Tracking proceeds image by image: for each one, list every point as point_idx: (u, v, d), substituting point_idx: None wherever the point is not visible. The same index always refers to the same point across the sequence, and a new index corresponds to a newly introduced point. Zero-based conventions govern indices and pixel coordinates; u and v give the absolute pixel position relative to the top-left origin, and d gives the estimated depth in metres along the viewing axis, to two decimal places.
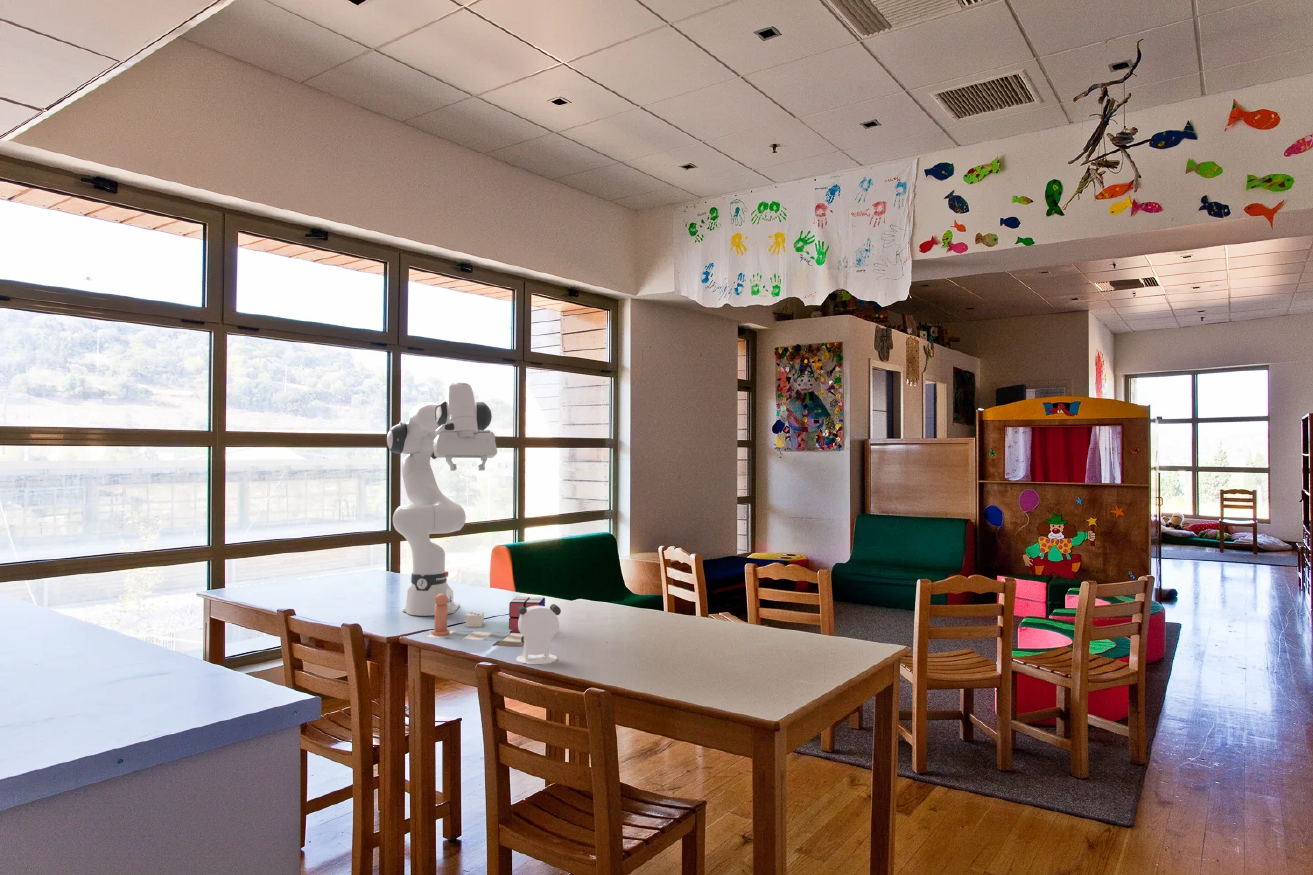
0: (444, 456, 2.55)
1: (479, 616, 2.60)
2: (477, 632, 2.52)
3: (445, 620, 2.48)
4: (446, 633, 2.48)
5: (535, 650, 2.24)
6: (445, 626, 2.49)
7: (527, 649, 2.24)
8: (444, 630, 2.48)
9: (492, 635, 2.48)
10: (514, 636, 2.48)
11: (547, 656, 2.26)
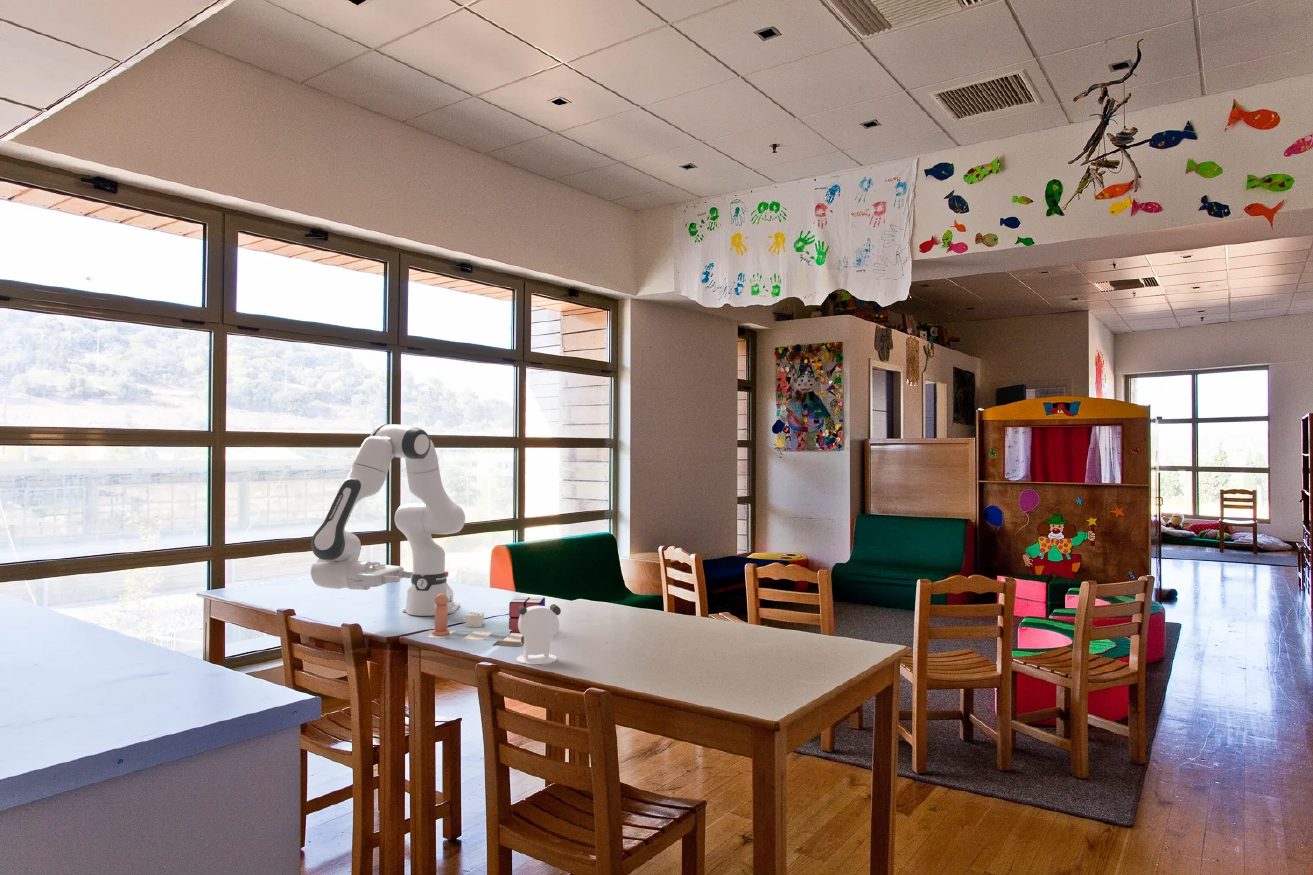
0: None
1: (479, 616, 2.60)
2: (477, 632, 2.52)
3: (445, 620, 2.48)
4: (446, 633, 2.48)
5: (535, 650, 2.24)
6: (445, 626, 2.49)
7: (527, 649, 2.24)
8: (444, 630, 2.48)
9: (492, 635, 2.48)
10: (514, 636, 2.48)
11: (547, 656, 2.26)
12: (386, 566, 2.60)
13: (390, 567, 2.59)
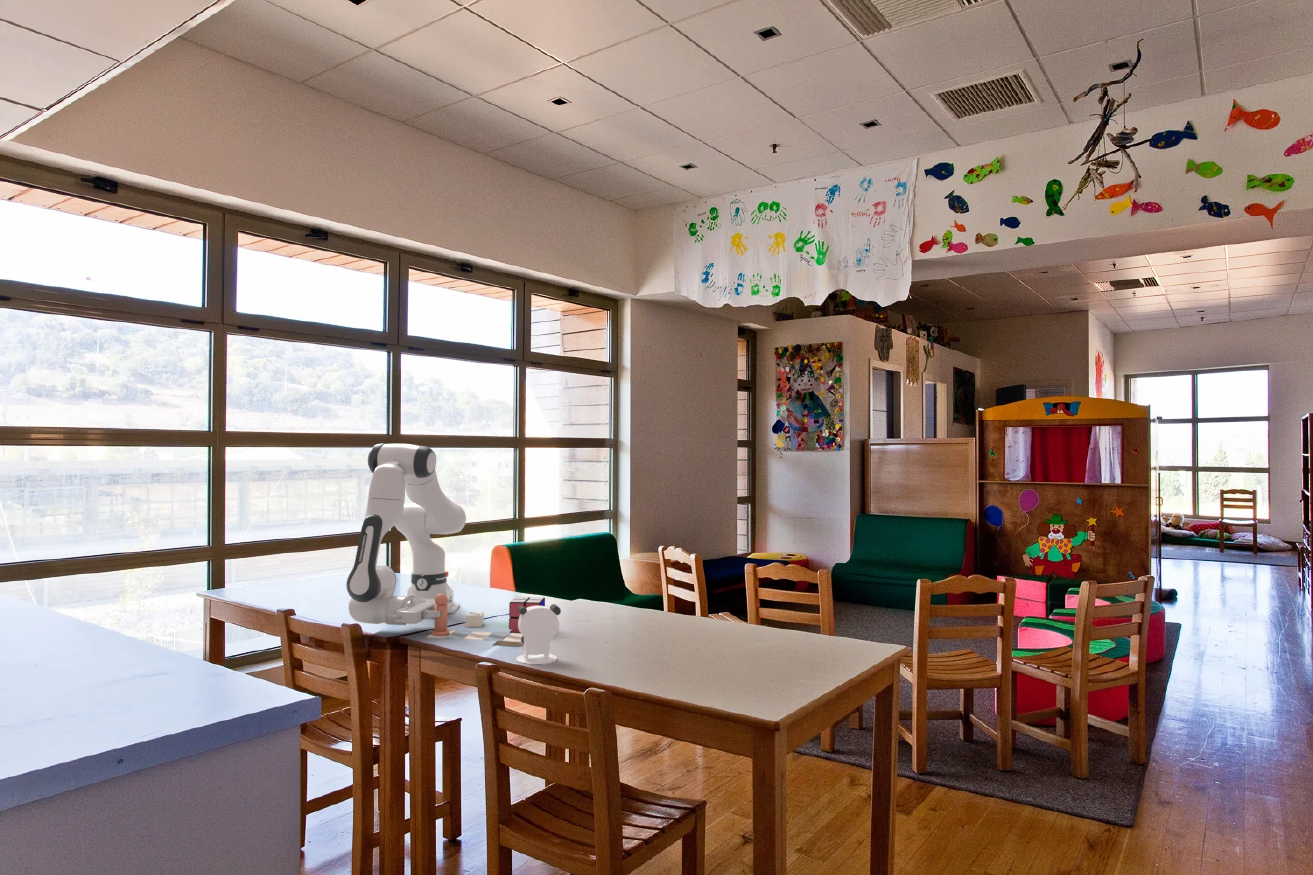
0: None
1: (479, 616, 2.60)
2: (477, 632, 2.52)
3: (445, 620, 2.48)
4: (446, 633, 2.48)
5: (535, 650, 2.24)
6: (445, 626, 2.49)
7: (527, 649, 2.24)
8: (444, 630, 2.48)
9: (492, 635, 2.48)
10: (514, 636, 2.48)
11: (547, 656, 2.26)
12: (423, 600, 2.58)
13: (427, 601, 2.58)
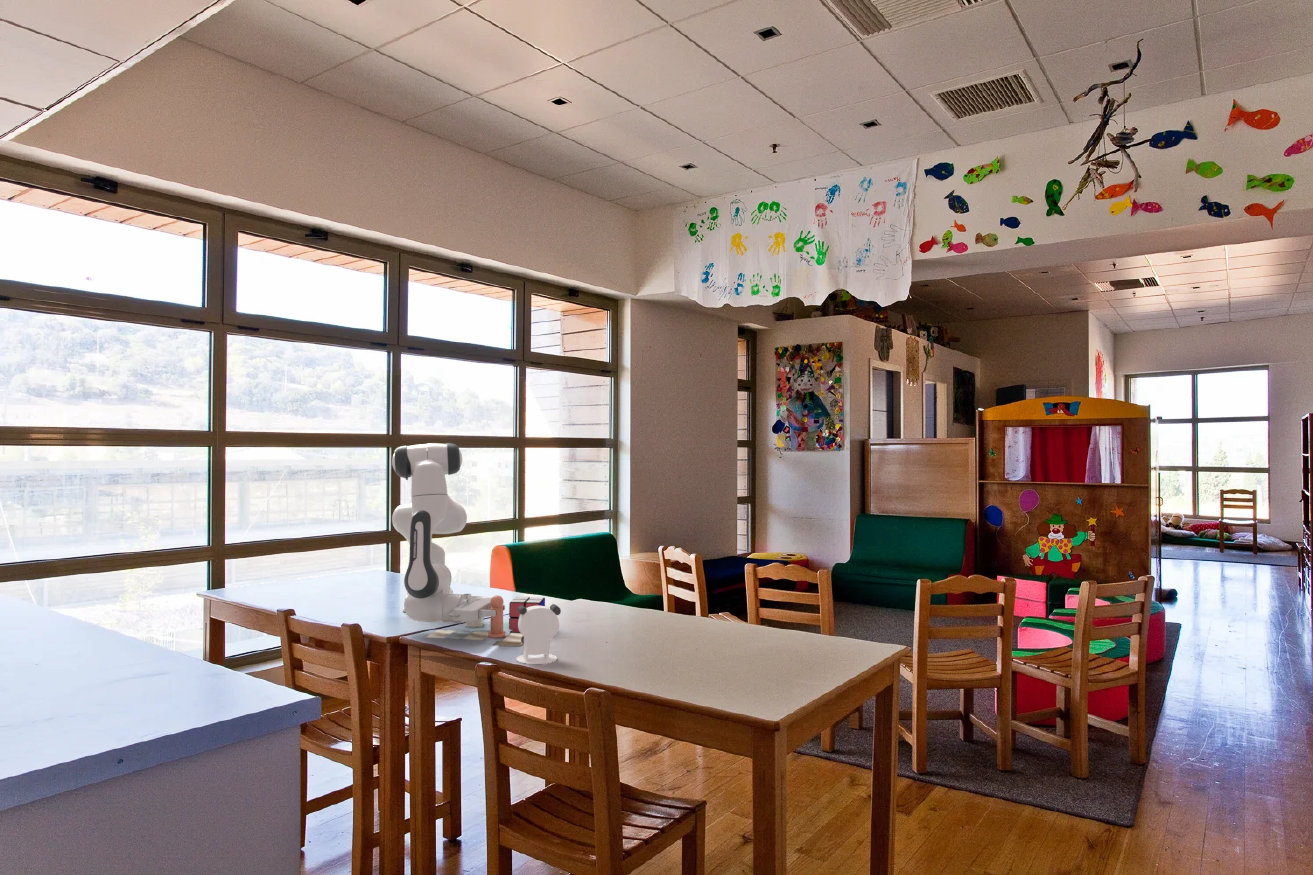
0: None
1: None
2: (477, 632, 2.52)
3: (501, 623, 2.46)
4: (502, 635, 2.46)
5: (535, 650, 2.24)
6: (501, 628, 2.47)
7: (527, 649, 2.24)
8: (500, 632, 2.46)
9: None
10: (514, 636, 2.48)
11: (547, 656, 2.26)
12: (478, 598, 2.56)
13: (482, 599, 2.56)
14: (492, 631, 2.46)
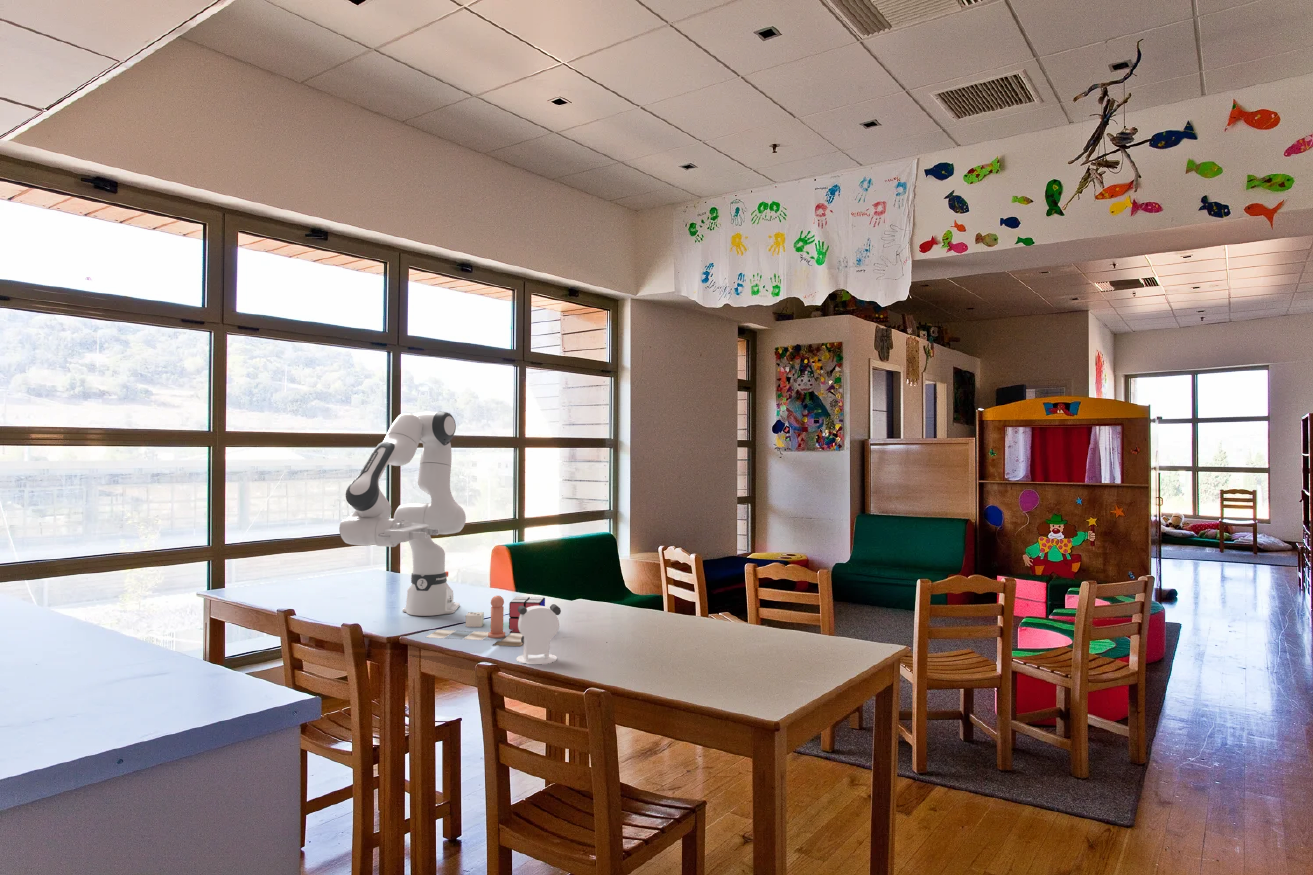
0: None
1: (479, 616, 2.60)
2: (477, 632, 2.52)
3: (501, 623, 2.46)
4: (502, 636, 2.46)
5: (535, 650, 2.24)
6: (501, 628, 2.47)
7: (527, 649, 2.24)
8: (500, 632, 2.46)
9: None
10: (514, 636, 2.48)
11: (547, 656, 2.26)
12: (413, 524, 2.61)
13: (417, 525, 2.61)
14: (492, 631, 2.46)
